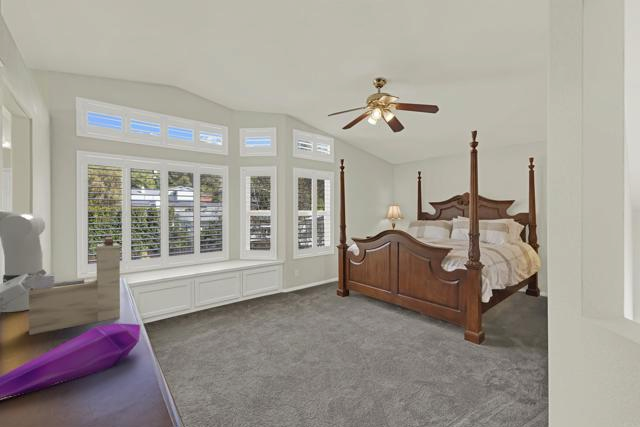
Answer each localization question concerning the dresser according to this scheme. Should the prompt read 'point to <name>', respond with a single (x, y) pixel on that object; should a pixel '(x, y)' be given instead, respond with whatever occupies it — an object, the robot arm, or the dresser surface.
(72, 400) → the dresser surface
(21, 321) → the dresser surface
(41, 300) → the maple stand
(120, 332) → the crystal
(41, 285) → the steel link
